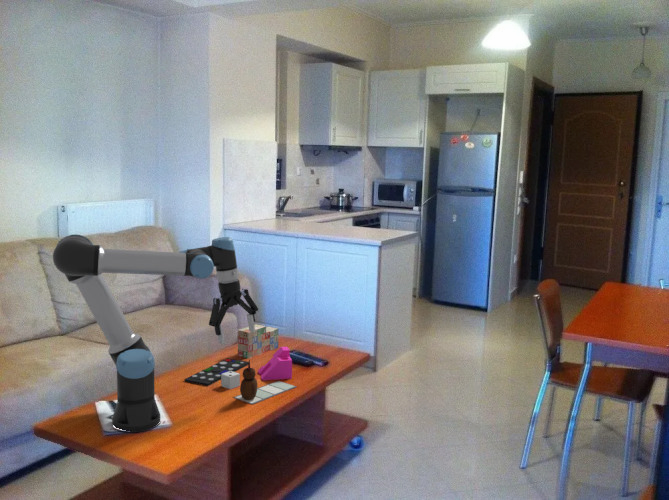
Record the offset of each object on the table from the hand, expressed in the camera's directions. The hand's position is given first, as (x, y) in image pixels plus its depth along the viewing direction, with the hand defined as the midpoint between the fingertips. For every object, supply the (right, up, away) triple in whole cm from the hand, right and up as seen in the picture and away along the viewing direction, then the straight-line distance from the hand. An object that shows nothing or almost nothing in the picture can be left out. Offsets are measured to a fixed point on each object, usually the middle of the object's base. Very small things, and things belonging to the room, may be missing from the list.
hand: (237, 337), depth 227 cm
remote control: (-12, -19, +30) cm, 38 cm away
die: (-5, -21, +15) cm, 27 cm away
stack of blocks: (0, -15, +60) cm, 62 cm away
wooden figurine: (+4, -23, +3) cm, 23 cm away
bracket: (+11, -20, +29) cm, 37 cm away
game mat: (+9, -22, +10) cm, 26 cm away
